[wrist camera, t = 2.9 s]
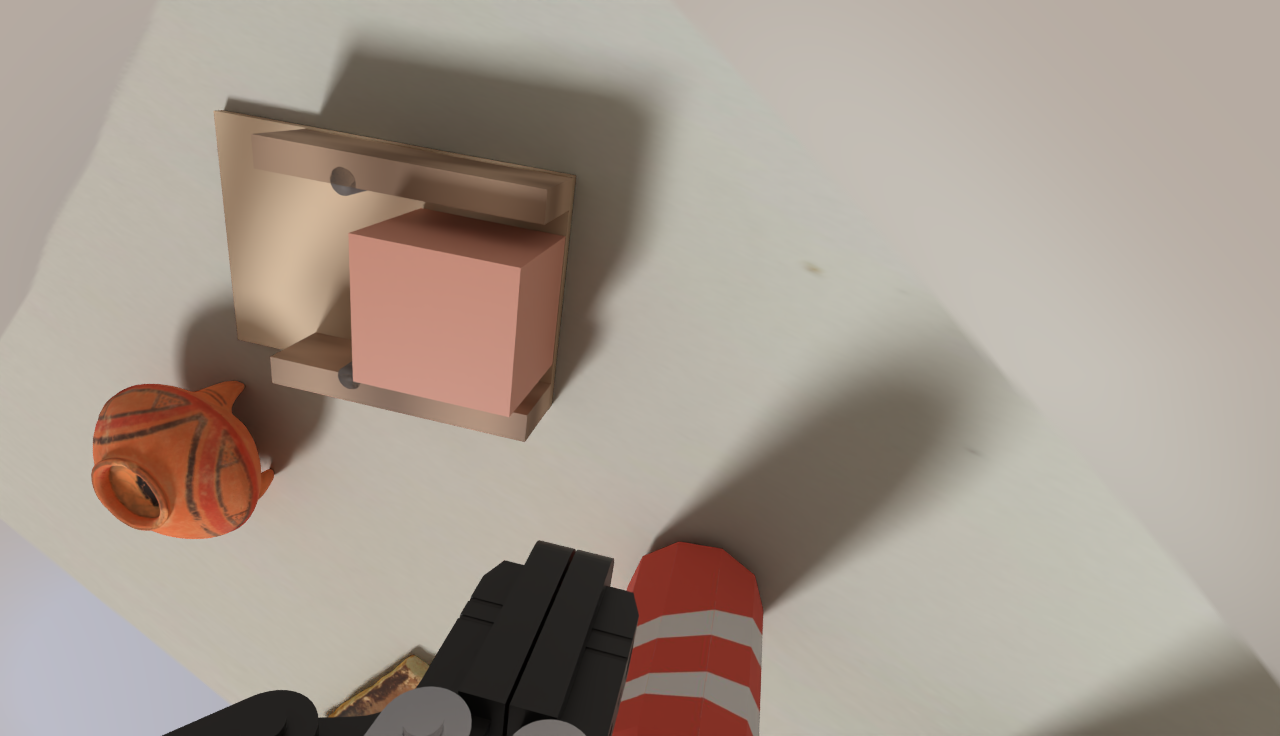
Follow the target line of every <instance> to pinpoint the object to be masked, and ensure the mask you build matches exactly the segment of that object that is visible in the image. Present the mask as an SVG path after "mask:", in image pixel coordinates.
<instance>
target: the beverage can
mask: <svg viewBox="0 0 1280 736" xmlns="http://www.w3.org/2000/svg"><path fill="white" fill-rule="evenodd" d="M627 591H629V592H633V593H634V597H635V601H636V605H637V609H638V613H639V619H638V624H637V629H636V634H635V639H634V645H633V650H632V655H631V660H630V665H629V670H628V675H627V679H626V683H625V687H624V691H623V695H622V698H621V703H620V707H619V710H618V714H617V718H616V722H615V726H614V730H613V734H612V736H759V722H760V692H761V662H762V631H763V607H762V603H761V599H760V594H759V590H758V586H757V582H756V578H755V575H754V574H753V573H751V572H750V571H749V570H748V569H747V568H745V567H744V566H743V565H742V564H740V563H739V562H738V561H737V560H735V559H734V558H733V557H732V556H731V555H729V554H728V553H727V552H726V551H724V550H723V549H721V548H715V547H709V546H703V545H697V544H691V543H685V542H676V543H674V544H672V545H669V546H667V547H664V548H662V549H659V550H657V551H654V552H652V553H650V554H647V555H645V556H643V557H642V559H641V561H640V563H639V565H638V567H637V569H636V571H635V573H634V575H633V577H632V579H631V581H630V583H629V585H628V588H627Z"/></svg>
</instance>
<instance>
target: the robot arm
mask: <svg viewBox="0 0 1280 736" xmlns="http://www.w3.org/2000/svg"><path fill="white" fill-rule="evenodd" d="M613 566H614V558H610V557H606V556H602V555H598V554H593V553H589V552H585V551H581V550H577V551H575V549H573V548H569V547H564V546H560V545H556V544H552V543H548V542H544V541H540V540H539V541H537V543H536V544H535V546H534V548H533V550H532V551H531V553H530V555H529V557H528V559H527V561H526V563H525V565H521V564H517V563H513V562H509V561H505V560H504V561H503V562H502V563H500V564H499V565H498V566H496V567H495V568H493V569H492V570H491V571H489V572H488V573H487V574H485V575H484V576H483V577H482V579H481V581H480V582H479V584H478V586H477V587H476V589H475V591H474V592H473V594H472V596H471V599H470V601H468V603H467V604H466V606H465V608H464V609H463V611H462V613H461V615H460V618H458V619H457V621H456V623H455V624H454V626H453V628H452V629H451V631H450V633H449V634H448V636H447V638H446V639H445V641H444V643H443V644H442V646H441V648H440V649H439V651H438V653H437V654H436V656H435V658H434V659H433V661H432V663H431V664H430V666H429V668H428V670H427V671H426V673H425V675H424V676H423V678H422V680H421V681H420V683H419V684H418V686H417V687H416V688H415V689H413V690H410V691H407V692H405V693H403V694H401V695H399V696H398V697H396V698H395V699H393V700H392V701H391V702H390V703H389V704H388V705H387V706H386V707H385V708H384V709H383V710H382V711H381V712H378V713H375V714H370V715H365V716H351V717H326V718H318V713H317V710H316V707H315V706H314V704H313V703H312V701H311V700H309V699H308V698H307V697H306V696H304V695H302V694H300V693H297V692H294V691H288V690H275V691H268V692H264V693H260V694H257V695H255V696H252V697H249V698H247V699H245V700H242V701H240V702H238V703H236V704H233V705H231V706H229V707H227V708H224V709H222V710H220V711H217V712H215V713H213V714H210V715H208V716H206V717H204V718H201V719H199V720H197V721H195V722H192V723H190V724H188V725H185V726H184V727H181V728H178V729H176V730H174V731H172V732H169V733H167V734H165V735H162V736H612V734H613V730H614V726H615V722H616V718H617V714H618V710H619V707H620V703H621V698H622V695H623V691H624V687H625V683H626V679H627V675H628V670H629V665H630V660H631V655H632V650H633V645H634V639H635V634H636V629H637V624H638V619H639V613H638V609H637V605H636V601H635V597H634V593H633V592H629V591H625V590H621V589H617V588H613V587H610V584H611V578H612V572H613Z"/></svg>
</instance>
